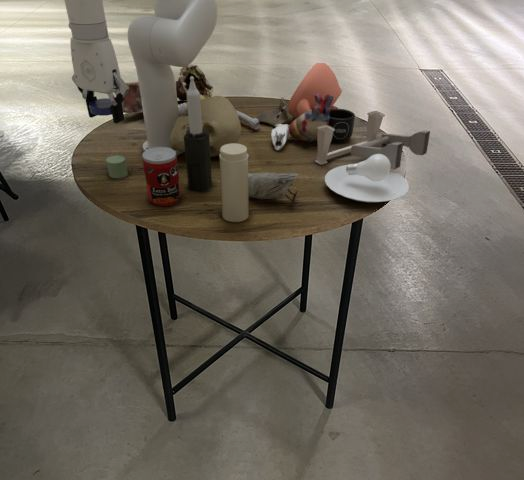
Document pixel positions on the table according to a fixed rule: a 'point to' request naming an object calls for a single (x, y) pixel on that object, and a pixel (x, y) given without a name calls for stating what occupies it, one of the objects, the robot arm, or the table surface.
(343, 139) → the mug
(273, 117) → the pottery fragment
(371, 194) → the plate
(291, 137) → the accessory
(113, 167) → the stand
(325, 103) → the anatomical model
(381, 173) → the lightbulb
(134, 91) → the decorative box
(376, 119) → the toilet paper hanger
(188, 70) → the bear figurine
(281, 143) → the bird figurine
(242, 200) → the jar
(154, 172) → the canned food
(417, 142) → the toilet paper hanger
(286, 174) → the decorative bird
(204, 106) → the skull
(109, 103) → the lid
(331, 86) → the pink curved piece
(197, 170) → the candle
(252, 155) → the table surface
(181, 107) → the light bulb
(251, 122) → the bone
